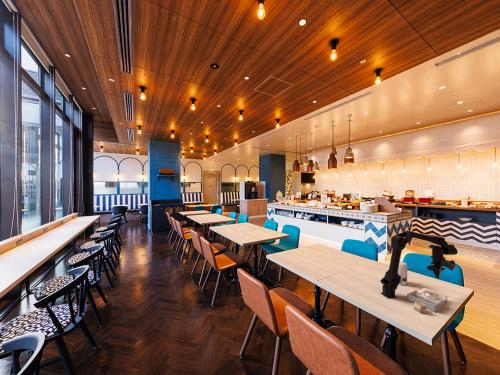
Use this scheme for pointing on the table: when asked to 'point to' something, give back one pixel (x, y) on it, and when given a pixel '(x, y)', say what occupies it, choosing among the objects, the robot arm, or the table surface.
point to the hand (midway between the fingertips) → (437, 278)
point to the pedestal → (420, 307)
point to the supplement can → (403, 273)
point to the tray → (440, 297)
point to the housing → (425, 302)
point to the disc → (431, 295)
